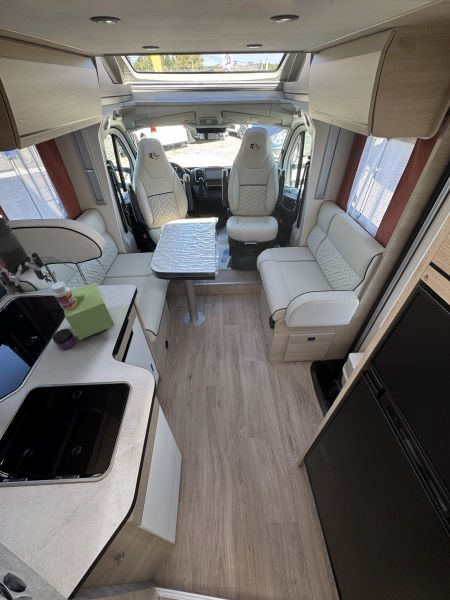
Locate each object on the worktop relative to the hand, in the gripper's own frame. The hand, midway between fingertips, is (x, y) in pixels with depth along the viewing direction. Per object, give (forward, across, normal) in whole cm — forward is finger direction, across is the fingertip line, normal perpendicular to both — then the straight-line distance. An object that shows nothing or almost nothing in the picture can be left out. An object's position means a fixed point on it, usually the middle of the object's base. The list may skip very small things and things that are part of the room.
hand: (32, 285), depth 93 cm
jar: (+36, -2, -4) cm, 36 cm away
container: (+36, -16, +1) cm, 39 cm away
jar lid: (+31, -2, -4) cm, 31 cm away
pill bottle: (+18, -10, -1) cm, 21 cm away
